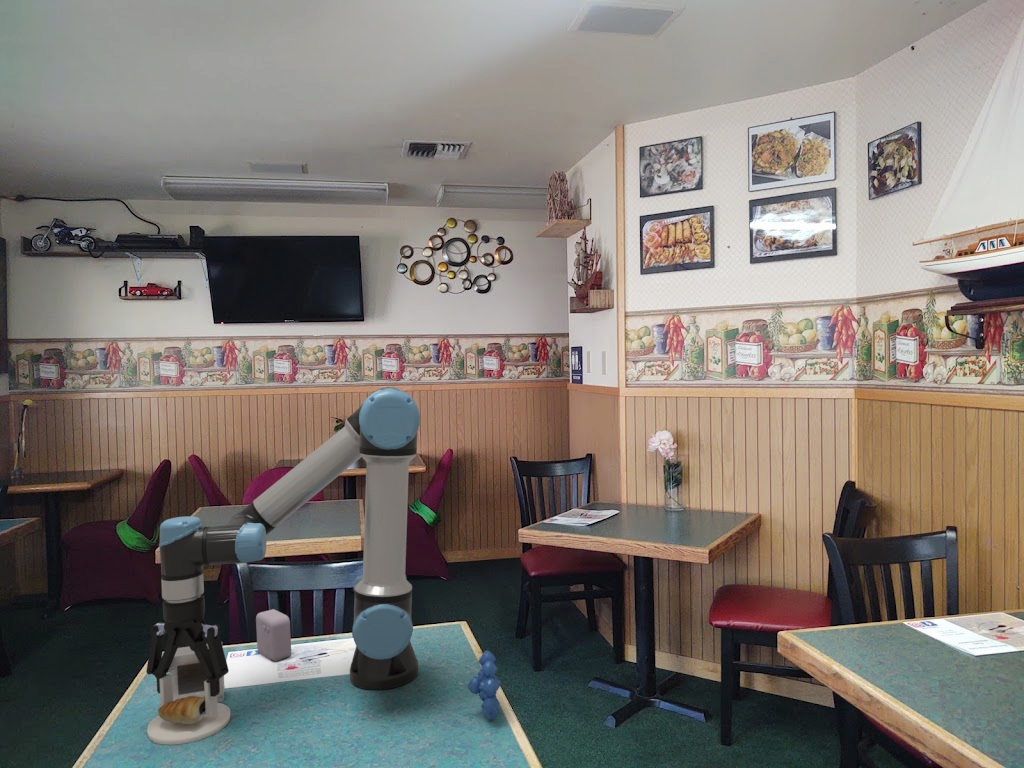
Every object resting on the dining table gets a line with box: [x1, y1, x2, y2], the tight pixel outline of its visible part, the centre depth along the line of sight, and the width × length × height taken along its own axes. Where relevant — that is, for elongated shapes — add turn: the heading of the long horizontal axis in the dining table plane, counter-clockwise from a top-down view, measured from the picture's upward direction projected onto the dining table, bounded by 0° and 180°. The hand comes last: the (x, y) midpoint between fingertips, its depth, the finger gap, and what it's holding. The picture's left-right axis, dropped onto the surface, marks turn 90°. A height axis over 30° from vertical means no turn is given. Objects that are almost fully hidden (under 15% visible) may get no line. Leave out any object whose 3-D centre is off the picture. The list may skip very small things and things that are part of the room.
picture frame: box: [168, 641, 226, 703], centre depth 157 cm, size 10×6×11 cm, turn 108°
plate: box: [146, 702, 231, 746], centre depth 146 cm, size 15×15×1 cm
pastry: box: [157, 696, 206, 724], centre depth 144 cm, size 9×7×4 cm
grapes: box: [466, 650, 502, 721], centre depth 146 cm, size 12×7×12 cm, turn 6°
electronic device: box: [255, 608, 292, 662], centre depth 181 cm, size 10×5×10 cm, turn 43°
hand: (189, 710), depth 146 cm, fingers closed on pastry, 9 cm apart
